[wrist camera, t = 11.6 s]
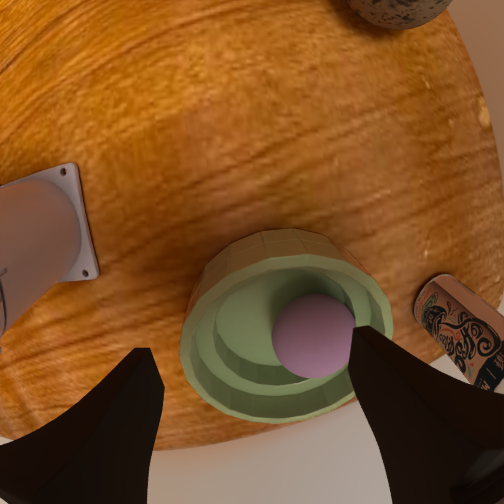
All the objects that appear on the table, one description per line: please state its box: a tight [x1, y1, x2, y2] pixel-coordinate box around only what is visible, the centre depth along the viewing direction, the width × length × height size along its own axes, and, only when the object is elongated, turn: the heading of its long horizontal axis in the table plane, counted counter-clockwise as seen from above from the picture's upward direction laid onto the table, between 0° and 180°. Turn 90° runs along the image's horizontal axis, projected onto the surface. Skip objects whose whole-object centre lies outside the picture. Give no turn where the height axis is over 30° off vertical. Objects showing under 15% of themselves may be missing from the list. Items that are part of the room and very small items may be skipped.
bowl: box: [179, 228, 394, 423], centre depth 18 cm, size 12×12×5 cm
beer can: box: [414, 274, 504, 394], centre depth 15 cm, size 5×5×12 cm
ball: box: [272, 294, 356, 378], centre depth 17 cm, size 5×5×5 cm
